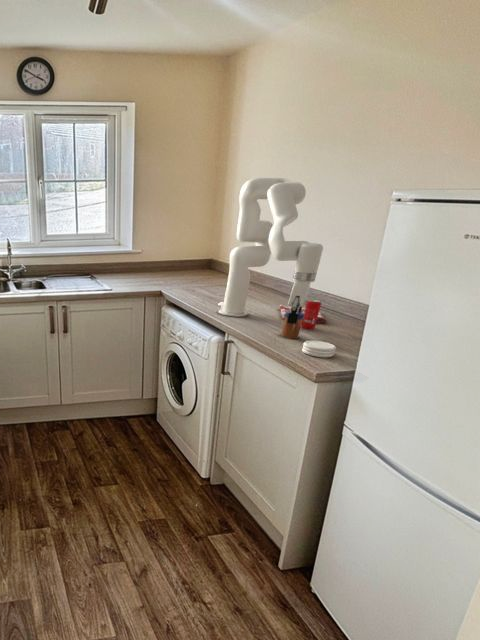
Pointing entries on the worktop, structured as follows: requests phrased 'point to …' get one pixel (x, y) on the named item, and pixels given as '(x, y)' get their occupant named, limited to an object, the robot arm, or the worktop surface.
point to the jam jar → (291, 329)
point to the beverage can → (311, 314)
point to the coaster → (318, 349)
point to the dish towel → (287, 308)
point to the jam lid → (300, 316)
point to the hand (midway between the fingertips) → (293, 321)
